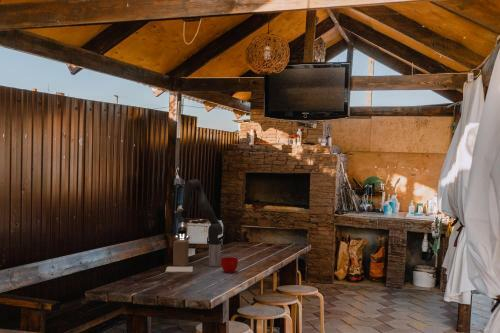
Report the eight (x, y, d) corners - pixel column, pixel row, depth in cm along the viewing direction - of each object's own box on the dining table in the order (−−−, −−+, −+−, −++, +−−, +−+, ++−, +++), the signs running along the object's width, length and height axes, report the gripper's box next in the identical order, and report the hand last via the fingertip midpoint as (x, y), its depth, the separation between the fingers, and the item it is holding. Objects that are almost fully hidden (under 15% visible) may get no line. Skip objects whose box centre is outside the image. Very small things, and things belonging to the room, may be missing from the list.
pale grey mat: (193, 267, 401) (193, 266, 401) (192, 272, 382) (192, 271, 382) (167, 267, 399) (167, 266, 399) (165, 272, 380) (165, 271, 380)
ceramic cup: (223, 274, 374) (224, 261, 374) (219, 270, 390) (219, 257, 390) (240, 274, 377) (241, 260, 377) (235, 270, 394) (235, 257, 394)
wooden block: (184, 267, 401) (185, 241, 402) (172, 266, 403) (173, 241, 404) (188, 265, 411) (189, 240, 411) (176, 264, 413) (177, 239, 413)
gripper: (174, 226, 423) (173, 243, 411) (190, 226, 424) (189, 243, 412) (174, 232, 428) (173, 248, 416) (190, 232, 429) (189, 248, 417)
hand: (181, 245), depth 414 cm, fingers closed
